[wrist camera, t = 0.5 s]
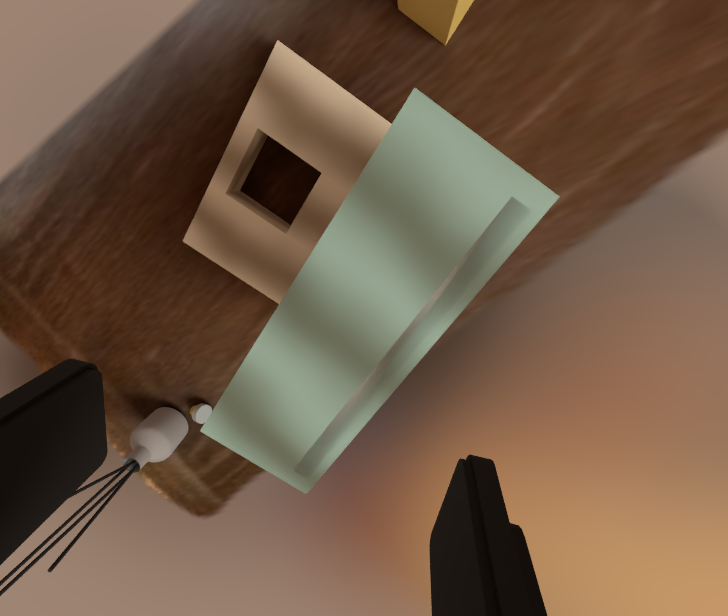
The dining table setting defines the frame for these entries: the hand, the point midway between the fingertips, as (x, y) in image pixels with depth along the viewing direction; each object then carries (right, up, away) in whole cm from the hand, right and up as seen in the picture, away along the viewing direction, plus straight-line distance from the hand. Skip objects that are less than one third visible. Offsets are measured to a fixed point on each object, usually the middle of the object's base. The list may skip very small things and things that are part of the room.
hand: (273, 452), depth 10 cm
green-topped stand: (-1, +12, +26) cm, 28 cm away
